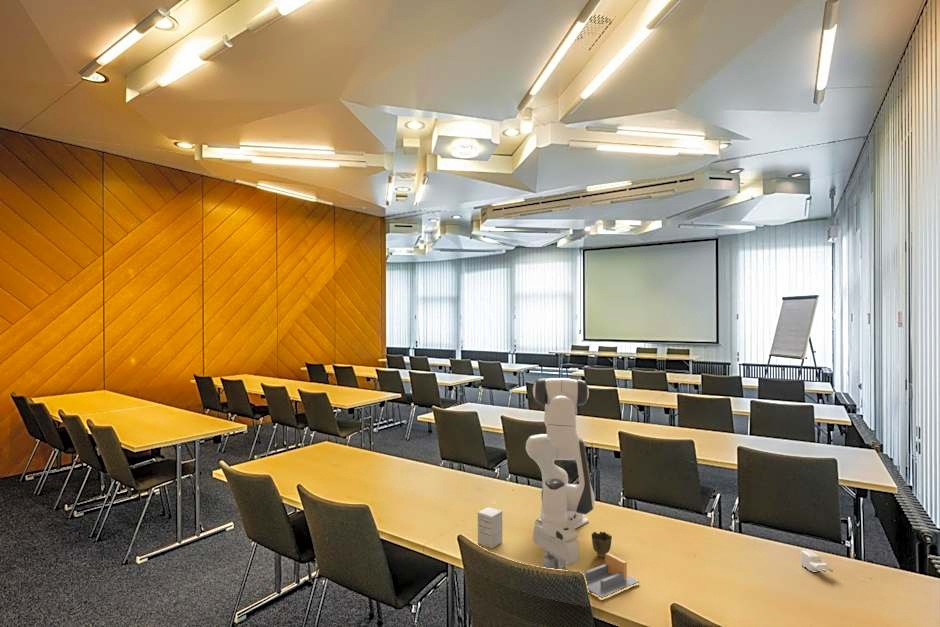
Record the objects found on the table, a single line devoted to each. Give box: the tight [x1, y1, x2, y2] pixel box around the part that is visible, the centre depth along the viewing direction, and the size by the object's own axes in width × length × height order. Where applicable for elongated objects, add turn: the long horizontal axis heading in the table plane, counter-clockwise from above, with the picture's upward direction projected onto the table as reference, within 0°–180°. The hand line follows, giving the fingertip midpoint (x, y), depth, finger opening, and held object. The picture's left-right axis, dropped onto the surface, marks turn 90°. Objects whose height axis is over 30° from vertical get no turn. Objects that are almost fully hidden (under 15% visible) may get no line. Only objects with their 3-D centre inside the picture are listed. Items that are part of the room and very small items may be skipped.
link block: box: [542, 553, 567, 570], centre depth 180 cm, size 8×4×5 cm, turn 123°
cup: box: [591, 531, 613, 559], centre depth 191 cm, size 8×7×8 cm
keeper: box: [582, 552, 640, 598], centre depth 171 cm, size 18×14×7 cm
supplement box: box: [477, 506, 503, 549], centre depth 201 cm, size 7×7×13 cm
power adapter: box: [800, 549, 834, 573], centre depth 179 cm, size 11×5×6 cm, turn 6°
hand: (554, 565), depth 180 cm, fingers closed on link block, 3 cm apart
